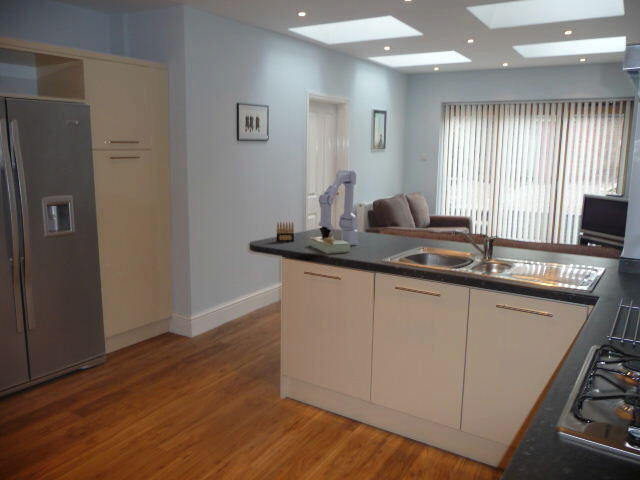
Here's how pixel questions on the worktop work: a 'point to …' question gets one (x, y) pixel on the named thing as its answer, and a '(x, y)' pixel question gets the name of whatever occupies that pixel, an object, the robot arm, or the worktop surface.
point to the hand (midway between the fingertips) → (325, 240)
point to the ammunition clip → (285, 233)
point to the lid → (320, 239)
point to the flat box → (331, 247)
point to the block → (328, 241)
